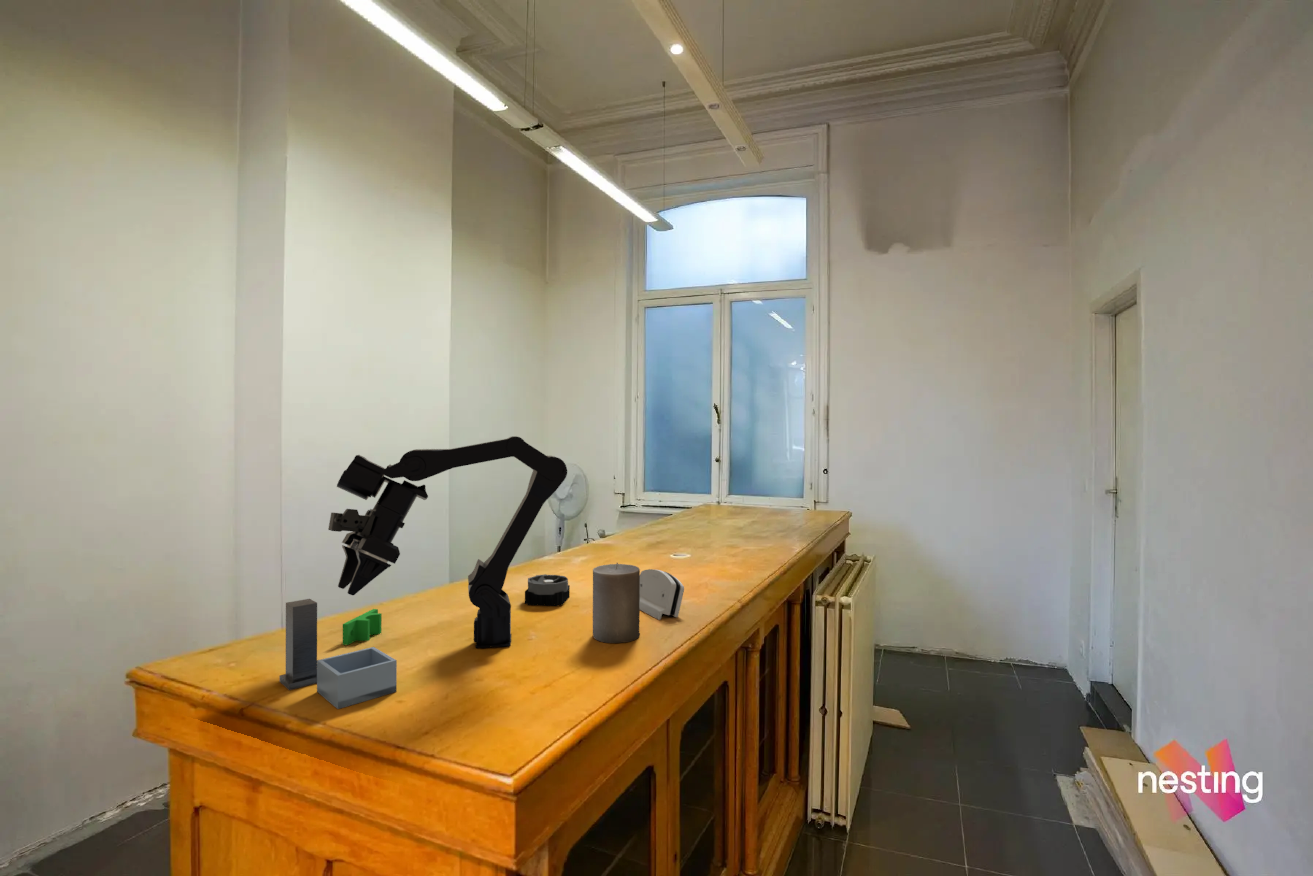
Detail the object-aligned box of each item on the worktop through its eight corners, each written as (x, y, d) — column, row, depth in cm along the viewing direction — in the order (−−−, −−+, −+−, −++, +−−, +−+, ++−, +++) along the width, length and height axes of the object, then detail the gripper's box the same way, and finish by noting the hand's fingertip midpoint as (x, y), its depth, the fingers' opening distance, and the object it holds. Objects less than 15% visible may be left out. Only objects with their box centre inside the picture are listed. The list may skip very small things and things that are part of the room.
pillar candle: (649, 634, 129) (649, 561, 129) (618, 647, 121) (619, 569, 121) (612, 625, 135) (613, 555, 134) (581, 637, 127) (582, 563, 127)
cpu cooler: (562, 584, 148) (520, 582, 149) (562, 608, 148) (520, 606, 149) (573, 574, 158) (533, 573, 159) (572, 597, 158) (533, 595, 159)
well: (373, 676, 106) (373, 646, 106) (396, 691, 100) (396, 660, 100) (316, 691, 99) (317, 660, 99) (337, 709, 93) (337, 675, 93)
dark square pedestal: (312, 673, 107) (312, 597, 107) (323, 681, 104) (323, 602, 103) (279, 681, 103) (279, 602, 103) (289, 690, 100) (289, 608, 100)
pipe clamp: (359, 647, 121) (359, 624, 121) (342, 646, 121) (342, 624, 121) (389, 629, 131) (388, 609, 131) (373, 628, 132) (373, 608, 131)
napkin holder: (625, 601, 153) (637, 562, 155) (641, 606, 155) (653, 566, 157) (659, 620, 139) (672, 575, 140) (676, 624, 141) (689, 580, 142)
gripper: (339, 491, 120) (293, 568, 115) (359, 491, 105) (307, 579, 100) (393, 516, 126) (351, 591, 120) (419, 520, 110) (373, 605, 105)
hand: (345, 591), depth 111 cm, fingers open, 9 cm apart
